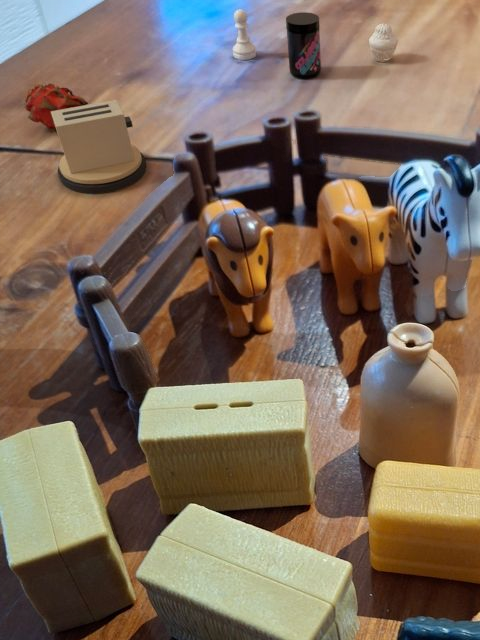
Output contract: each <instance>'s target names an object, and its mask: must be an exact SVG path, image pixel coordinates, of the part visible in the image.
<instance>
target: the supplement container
mask: <svg viewBox="0 0 480 640" xmlns="http://www.w3.org/2000/svg"><path fill="white" fill-rule="evenodd" d="M285 28H286V38H287V41H286V42H287V53H288V54H287V55H288V68H289V73H290V74H291V76H292V77H294V78H297V79H301V80H308V79H314V78H316V77H318V76H319V75H320V73H321V71H322V61H321V60H322V59H321V36H320V35H321V34H320V32H321V31H320V28H321V26H320V17H319V15H317V14H315V13H312V12H307V11H305V12H304V11H303V12H302V11H301V12H294V13H291V14H289V15H287V16H286V17H285Z"/></svg>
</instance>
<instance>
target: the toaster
mask: <svg viewBox="0 0 480 640" xmlns="http://www.w3.org/2000/svg"><path fill="white" fill-rule="evenodd" d="M51 114H52V118H53V121H54V124H55V127H56V128H55V131H56V133H57V136H58V139H59V142H60V146H61V148H62V151H63V155H62V156H61V158H60V160H59V163H58V167H59V168H60V171H61V173H62V175H63V176H64V177H65V178H67V179H68V180H70V181H73V182H76V183H81V184H103V183H109V182H113V181H116V180H120V179H122V178H124V177H127V176H129V175H130V174H132V173H133V172H135V171H136V170H137V169H138V168H139V166H140V164H141V162H142V157H141V153H142V152H141V150H140V149H139V148H138V147H137V146H136V145H134V144H132V142H131V139H130V135H129V130H128V129H129V128H133V127H134V126H133V121H132V120H131V117H130V116H125V114H124V112H123V110H122V108H121V106H120V104H119V102H118V99H112V100H108V101H101V102H96V103H90V104H89V103H88V104H87V105H84V106H78V107H73V108H67V109H62V110H56V111H51ZM140 152H141V153H140Z"/></svg>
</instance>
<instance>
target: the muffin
mask: <svg viewBox="0 0 480 640" xmlns="http://www.w3.org/2000/svg"><path fill="white" fill-rule="evenodd" d="M368 45H369V48H370V50H371V52H372V55H373V57H374V59H375V61H377V62H380V63H386V62H389V61H390V60H391V59H392V57H393V55H394V53H395V51H396V49H397V46H398V38H397V36H396V35H395V34H394V32H393V28H392V27H391V25H390V24H388V23H380V24H377V25H376V26H375V29H374V32H373V34H371V36H370V37H369V39H368ZM376 58H377V59H376ZM388 58H390V59H388ZM378 59H379V60H378ZM384 59H388V60H384Z"/></svg>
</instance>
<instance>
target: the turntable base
mask: <svg viewBox="0 0 480 640" xmlns="http://www.w3.org/2000/svg"><path fill="white" fill-rule="evenodd" d="M140 153H141V157H142V162H141V164H140V166H139V168H138V169H137V170H136V171H135V172H133V173H132V174H130V175H129V176H127V177H124V178H122V179H120V180H116V181H113V182H109V183H103V184H81V183H76V182H73V181H70V180H68V179H67V178H65V177H64V176H63V175H62V173H61V171H60V168H59V166H58V167H57V174H58V177H59V181H60V182H61V184H62V185H63V186H64V187H66V188H67V189H69V190H70V191H73V192H77V193H81V194H106V193H111V192H116V191H119V190H123V189H125V188H128V187H130V186H131V185H134V184H135V183H137V182H138V181H139V180H141V178H142V177H143V176H144V175H145V174H146V172H147V161H146V159H145V155H144V154H143V153H142V152H141V151H140Z"/></svg>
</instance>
